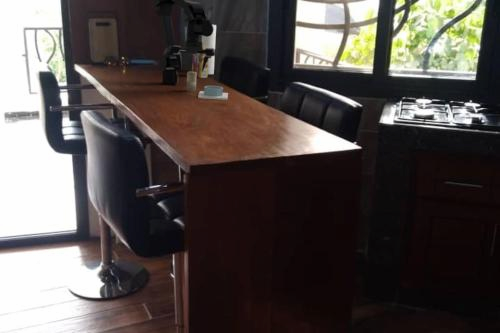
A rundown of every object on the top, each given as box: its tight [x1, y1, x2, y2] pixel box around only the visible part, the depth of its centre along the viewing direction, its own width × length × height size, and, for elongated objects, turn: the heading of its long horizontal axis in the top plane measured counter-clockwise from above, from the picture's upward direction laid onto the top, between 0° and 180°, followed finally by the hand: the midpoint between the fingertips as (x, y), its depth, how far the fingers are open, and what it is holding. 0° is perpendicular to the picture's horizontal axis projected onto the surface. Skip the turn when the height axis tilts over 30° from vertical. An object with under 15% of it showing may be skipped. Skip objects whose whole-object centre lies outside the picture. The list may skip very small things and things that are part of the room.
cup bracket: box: [197, 85, 229, 101], centre depth 231 cm, size 12×12×4 cm
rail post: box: [186, 71, 197, 93], centre depth 240 cm, size 4×4×8 cm
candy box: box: [191, 46, 209, 79], centre depth 279 cm, size 9×4×15 cm, turn 39°
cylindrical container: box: [201, 24, 217, 75], centre depth 291 cm, size 7×7×25 cm
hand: (191, 71), depth 238 cm, fingers open, 9 cm apart
